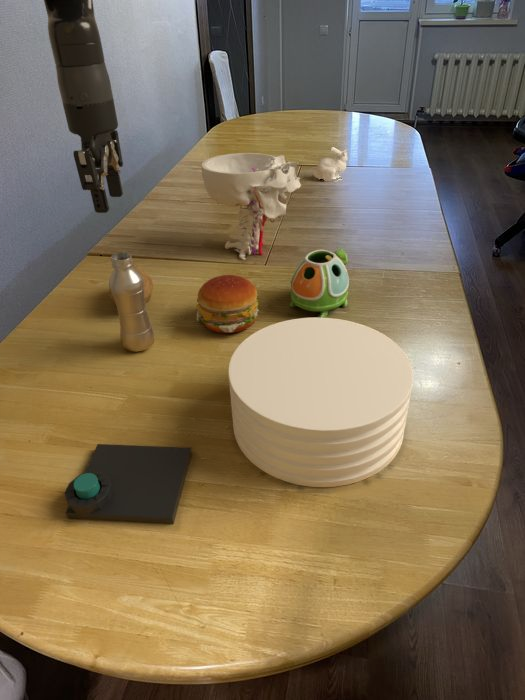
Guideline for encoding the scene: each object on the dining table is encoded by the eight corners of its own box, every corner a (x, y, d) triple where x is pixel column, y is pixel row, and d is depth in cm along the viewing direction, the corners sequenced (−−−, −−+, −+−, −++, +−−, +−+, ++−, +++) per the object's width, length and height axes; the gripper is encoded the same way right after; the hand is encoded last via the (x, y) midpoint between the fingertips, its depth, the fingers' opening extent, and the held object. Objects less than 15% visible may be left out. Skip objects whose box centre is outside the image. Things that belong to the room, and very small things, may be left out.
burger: (262, 336, 107) (260, 294, 101) (196, 341, 106) (191, 299, 100) (257, 303, 118) (256, 263, 112) (198, 307, 117) (193, 267, 111)
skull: (207, 264, 135) (198, 176, 121) (211, 235, 150) (203, 154, 137) (303, 260, 135) (304, 171, 121) (297, 232, 150) (298, 150, 137)
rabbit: (344, 175, 191) (347, 141, 184) (349, 183, 184) (351, 148, 177) (312, 176, 191) (313, 143, 184) (315, 185, 184) (316, 150, 177)
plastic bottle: (130, 336, 108) (111, 247, 97) (160, 339, 107) (145, 249, 96) (117, 353, 103) (95, 262, 92) (149, 357, 102) (131, 265, 90)
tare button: (72, 498, 71) (69, 490, 70) (81, 480, 74) (78, 472, 73) (95, 500, 71) (92, 491, 70) (103, 481, 73) (100, 473, 72)
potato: (154, 286, 126) (149, 256, 121) (157, 316, 115) (151, 284, 110) (113, 291, 124) (106, 261, 120) (112, 322, 113) (104, 290, 109)
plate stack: (407, 498, 73) (419, 440, 66) (214, 475, 77) (207, 419, 70) (400, 375, 95) (408, 322, 88) (250, 363, 99) (248, 312, 93)
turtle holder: (366, 291, 121) (371, 243, 114) (327, 326, 109) (329, 276, 102) (320, 277, 127) (322, 232, 120) (278, 310, 115) (278, 261, 108)
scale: (63, 519, 72) (57, 505, 70) (96, 449, 82) (91, 436, 80) (173, 525, 70) (170, 511, 69) (192, 453, 81) (189, 440, 79)
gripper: (81, 89, 84) (102, 190, 94) (43, 107, 73) (72, 220, 83) (125, 88, 84) (142, 189, 93) (95, 106, 72) (118, 220, 82)
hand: (109, 203), depth 88 cm, fingers open, 7 cm apart
